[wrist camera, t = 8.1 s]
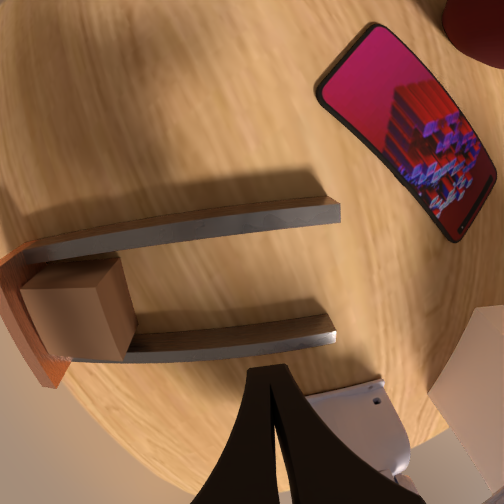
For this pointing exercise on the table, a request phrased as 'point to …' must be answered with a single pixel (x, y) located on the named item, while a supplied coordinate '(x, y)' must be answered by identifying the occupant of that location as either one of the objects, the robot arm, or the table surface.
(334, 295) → the table surface
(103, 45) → the table surface
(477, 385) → the milk
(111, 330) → the block
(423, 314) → the table surface
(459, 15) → the mug
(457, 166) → the smartphone
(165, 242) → the guide lane
